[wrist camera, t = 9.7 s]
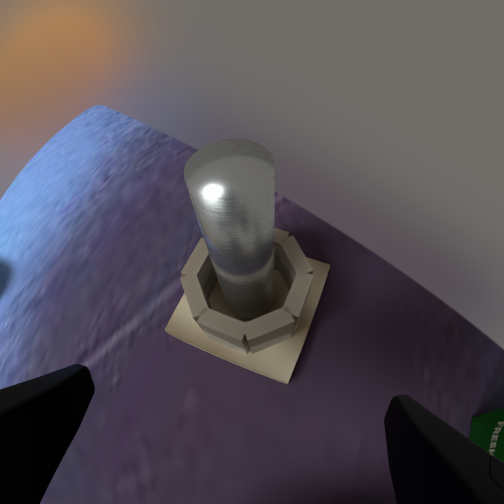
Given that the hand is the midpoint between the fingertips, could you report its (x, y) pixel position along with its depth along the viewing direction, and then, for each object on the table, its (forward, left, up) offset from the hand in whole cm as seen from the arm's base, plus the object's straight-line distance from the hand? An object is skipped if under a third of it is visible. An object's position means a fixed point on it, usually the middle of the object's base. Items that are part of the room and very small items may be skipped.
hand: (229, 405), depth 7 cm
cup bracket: (+8, +4, -14) cm, 16 cm away
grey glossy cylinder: (+8, +4, -13) cm, 15 cm away
